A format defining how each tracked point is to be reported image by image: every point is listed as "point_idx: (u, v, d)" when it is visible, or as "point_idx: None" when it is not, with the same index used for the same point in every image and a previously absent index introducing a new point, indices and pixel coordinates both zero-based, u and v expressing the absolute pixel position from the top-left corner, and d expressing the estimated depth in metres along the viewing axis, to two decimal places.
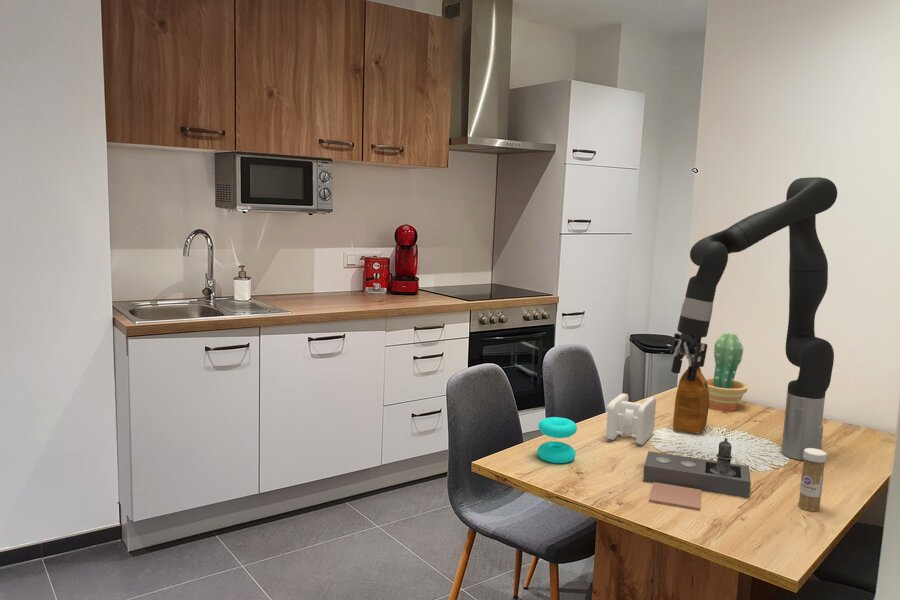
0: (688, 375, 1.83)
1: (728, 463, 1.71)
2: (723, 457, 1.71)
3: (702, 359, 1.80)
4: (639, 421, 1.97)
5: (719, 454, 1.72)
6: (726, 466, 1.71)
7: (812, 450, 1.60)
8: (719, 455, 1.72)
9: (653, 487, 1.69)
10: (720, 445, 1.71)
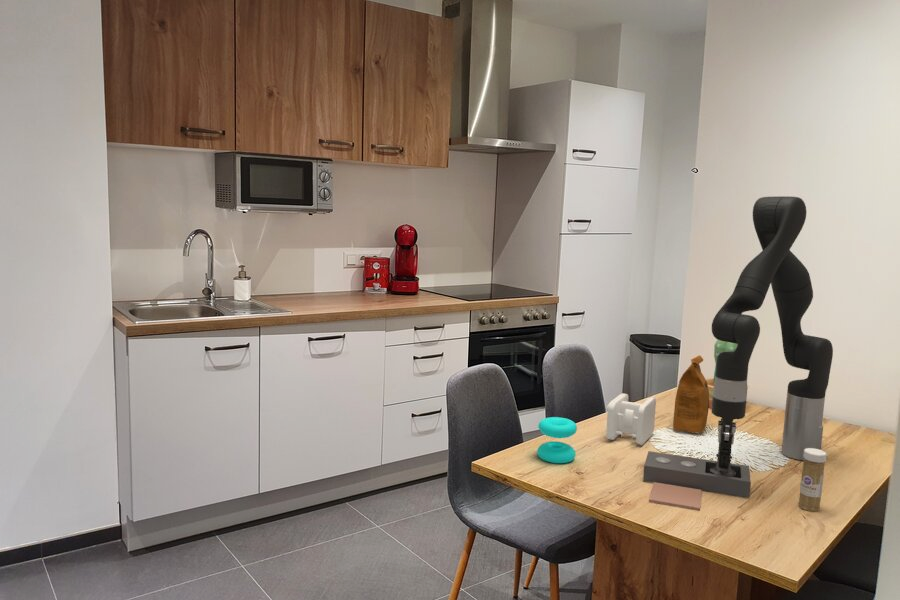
0: (719, 462, 1.70)
1: None
2: None
3: (729, 447, 1.67)
4: (639, 421, 1.97)
5: (719, 454, 1.72)
6: None
7: (813, 450, 1.60)
8: (719, 455, 1.72)
9: (653, 487, 1.69)
10: None
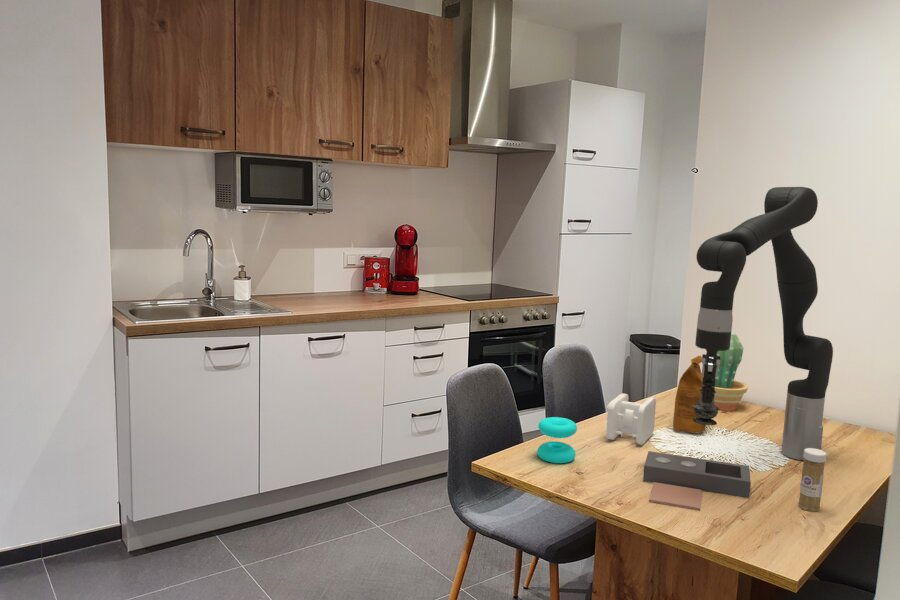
0: (703, 396, 1.64)
1: (712, 398, 1.65)
2: None
3: None
4: (639, 421, 1.97)
5: None
6: None
7: (813, 450, 1.60)
8: None
9: (653, 487, 1.69)
10: None
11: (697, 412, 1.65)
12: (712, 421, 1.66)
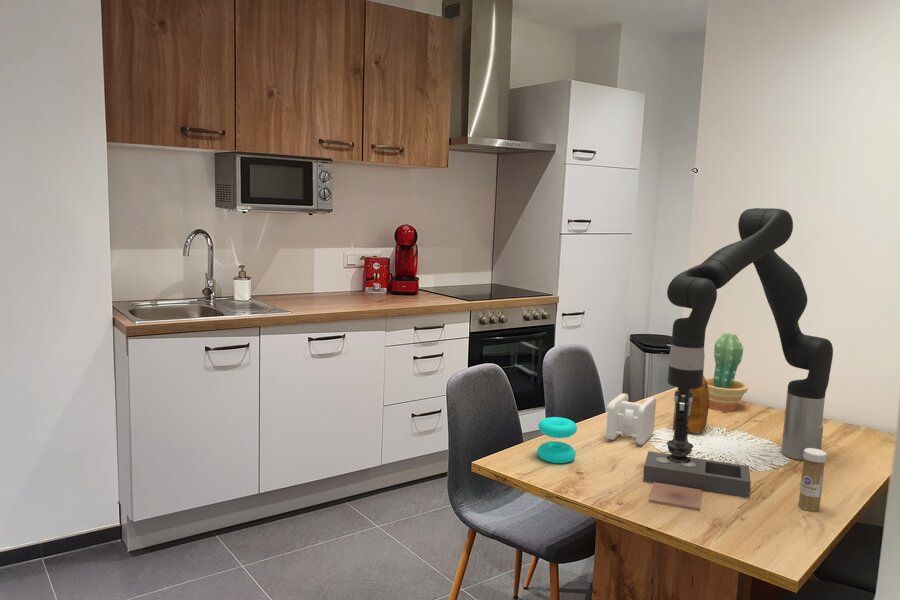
0: (676, 434, 1.61)
1: None
2: None
3: None
4: (639, 421, 1.97)
5: None
6: None
7: (813, 450, 1.60)
8: None
9: (653, 487, 1.69)
10: None
11: (670, 450, 1.63)
12: (686, 459, 1.63)
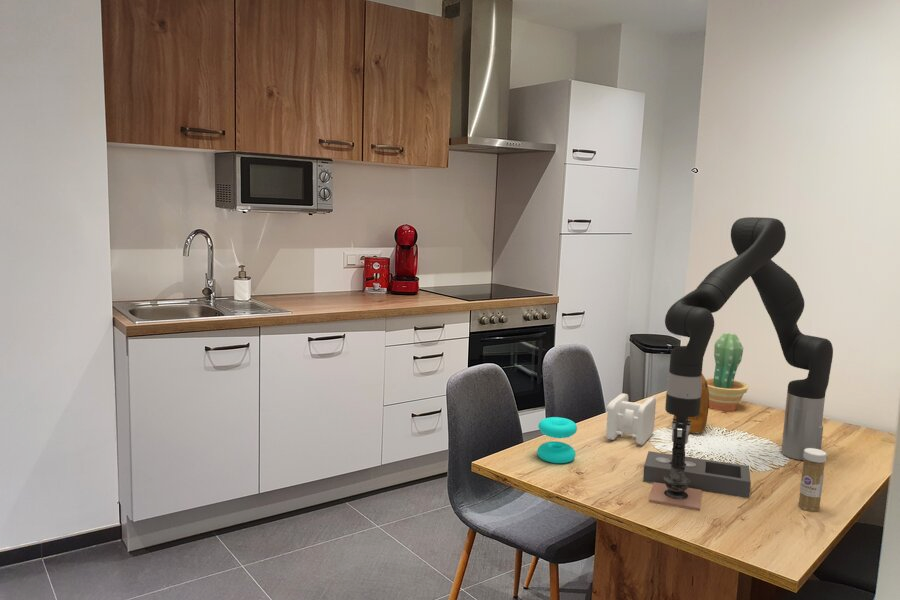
0: (673, 462, 1.61)
1: (682, 471, 1.63)
2: None
3: (682, 445, 1.58)
4: (639, 421, 1.97)
5: (672, 461, 1.64)
6: (679, 474, 1.63)
7: (813, 450, 1.60)
8: (672, 463, 1.64)
9: (653, 487, 1.69)
10: None
11: (667, 485, 1.64)
12: (683, 494, 1.64)
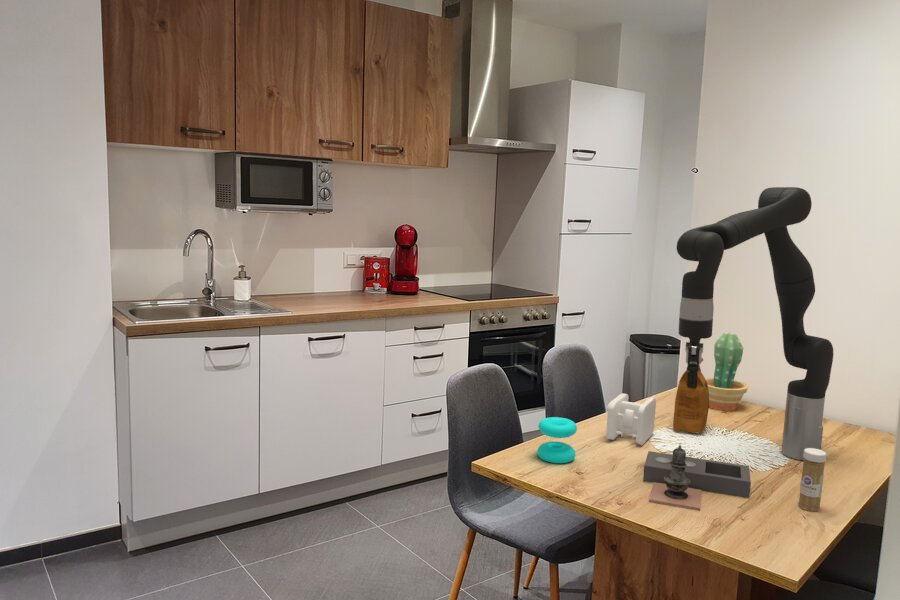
0: (688, 381, 1.66)
1: (682, 471, 1.63)
2: (677, 464, 1.63)
3: (696, 363, 1.63)
4: (639, 421, 1.97)
5: (673, 462, 1.64)
6: (680, 474, 1.63)
7: (813, 450, 1.60)
8: (673, 463, 1.64)
9: (653, 487, 1.69)
10: (674, 452, 1.64)
11: (668, 485, 1.64)
12: (683, 494, 1.64)
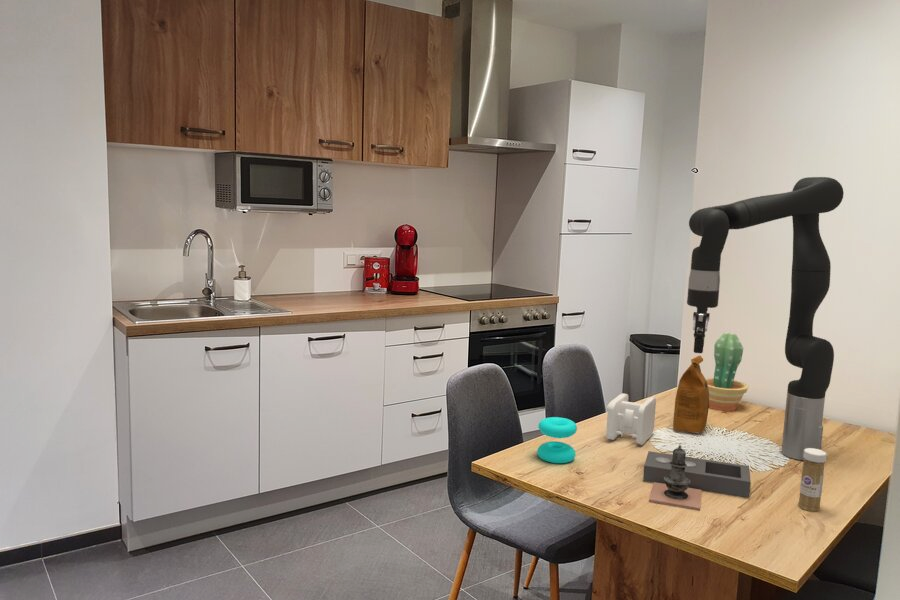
0: (694, 347, 1.80)
1: (682, 471, 1.63)
2: (677, 465, 1.63)
3: (703, 329, 1.77)
4: (639, 421, 1.97)
5: (673, 462, 1.64)
6: (680, 474, 1.63)
7: (812, 450, 1.60)
8: (673, 463, 1.64)
9: (653, 487, 1.69)
10: (674, 452, 1.64)
11: (668, 485, 1.64)
12: (683, 494, 1.64)
